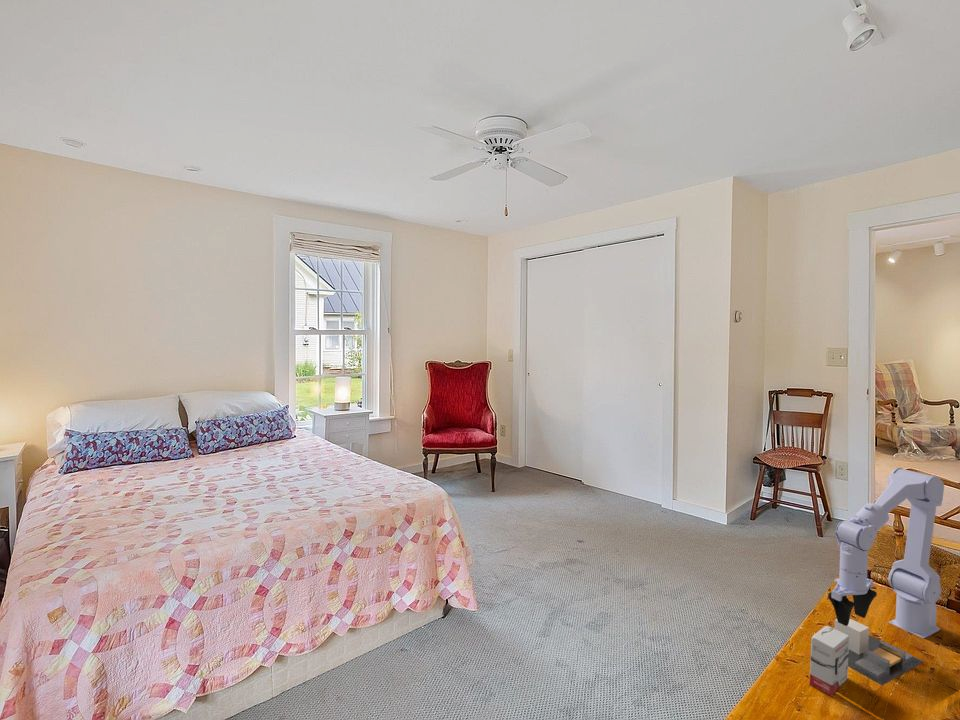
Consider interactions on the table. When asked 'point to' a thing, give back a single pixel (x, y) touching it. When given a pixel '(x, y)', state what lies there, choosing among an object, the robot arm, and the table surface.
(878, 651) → the block
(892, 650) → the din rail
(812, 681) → the ink box
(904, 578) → the robot arm
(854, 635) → the block
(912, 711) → the table surface
